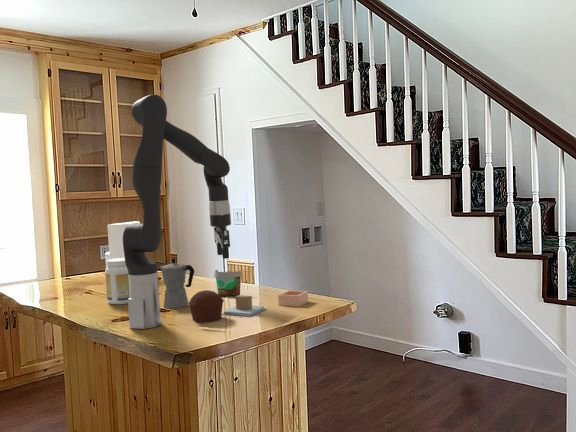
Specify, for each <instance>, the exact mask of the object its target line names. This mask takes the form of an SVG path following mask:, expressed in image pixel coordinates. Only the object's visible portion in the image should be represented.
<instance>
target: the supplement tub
mask: <svg viewBox="0 0 576 432" xmlns="http://www.w3.org/2000/svg"><path fill="white" fill-rule="evenodd" d="M107 265H108V267H107V268H106V267H105V271H104V273H105V287H106V300H107V303H109V304H110V305H124V304H125V305H128V299H129V298H130V292H129V276H128V269H127V267H126V264H125V258H116V259H110V260H107Z"/></svg>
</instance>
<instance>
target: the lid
mask: <svg viewBox="0 0 576 432" xmlns="http://www.w3.org/2000/svg"><path fill="white" fill-rule="evenodd" d="M264 309H265V306H262V305H253V298H252V295H241V294H240V295H238V296H235V306H234V307H231V308H229V309H227V310H225V311H223V313H224V314H226V315H239V316H251V315H254V314H256V313H258V312H260V311H262V310H264ZM226 315H225V316H226ZM239 316H238V317H239Z"/></svg>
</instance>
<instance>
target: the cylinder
mask: <svg viewBox="0 0 576 432" xmlns="http://www.w3.org/2000/svg"><path fill="white" fill-rule="evenodd" d="M130 224H141V222H140V221H127V222H118V223H110V224H107V239H108V240H107V241H108V251H107V252H105V253H104V254H105V255H104V258H105V269H106V268H107V267H108V265H107V260H110V259H116V258H125V257H124V249H123V232H124V230H125V228H126V227H127V226H128V225H130Z"/></svg>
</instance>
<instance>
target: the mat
mask: <svg viewBox="0 0 576 432" xmlns="http://www.w3.org/2000/svg"><path fill="white" fill-rule="evenodd" d="M267 310H268V308H264V310H262V311H260V312H258V313H256V314H254V315H251V316H239V315H226V314H224V312H222V315H221V316H228V317H229V316H230V317H239V318H240V317H242V318H253V317H254V316H257V315H258V314H260V313H263V312H264V311H267Z"/></svg>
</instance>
